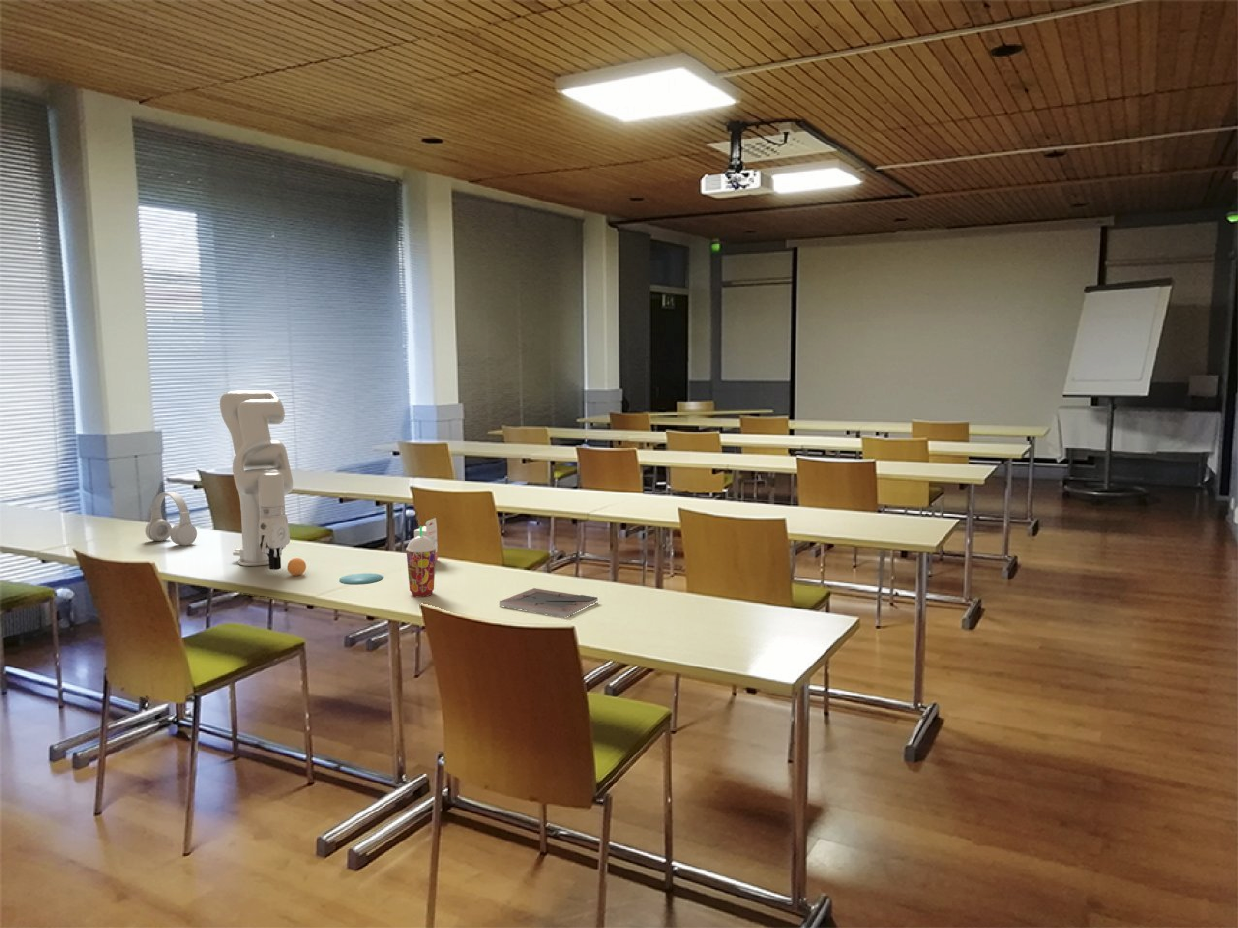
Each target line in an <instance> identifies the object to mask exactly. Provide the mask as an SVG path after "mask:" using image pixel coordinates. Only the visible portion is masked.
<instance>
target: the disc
mask: <svg viewBox="0 0 1238 928" xmlns="http://www.w3.org/2000/svg"><path fill="white" fill-rule="evenodd" d="M383 578H384V576H383V575H382V574H378V573H370V572H369V573H367V572H366V573H355V574H354V573H353V574H348V575H345V576H342V577H341V578H339V580H338V581H339V582H340V583H342V584H345V585H366V584H367V585H368V584H372V583H376V582H380V581H381V580H383Z"/></svg>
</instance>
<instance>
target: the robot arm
mask: <svg viewBox="0 0 1238 928" xmlns="http://www.w3.org/2000/svg"><path fill="white" fill-rule="evenodd" d="M219 407H220V413H221V418H222V419H223V421H224V423H225V424H224V425H226V427H227V428H228V431H229V433H230V434H231V438H232V443H233V445H232V446H233V449H234V455H235V456H234V458H233V460H232V461H233V462H232V471H233V478H234V485H235V488H236V490H237V492H238V497H239V498H238V499H239V504H240V505H239V508H240V519H241V520H240V521H241V523H240V524H241V542H242V543H241V546H242V548H236V549H234V550H233V553H232V555H233V556H238V557H239V559H237V564H238V565H240V566H245V567H246V566H247V567H248V566H249V567H251V566H252V567H258V566H266V565H268V570H273V571H275V570H277V571H278V570H281V569H282V561H281V560H282V558H281V557H282V552H283V549H285V548H286V547H287V546H288V545H289V544H290V542H291V535H290V525H289V520H288V515H287V514H286V502H285V501H286V499H285V496H286V495H289V494H290V493H292V491H293V488H294V480H293V474H292V469H291V465H290V460H289V457H288V456H289V455H288V453H287V452H288V451H287V448H286V446H285V444H284V443H283V442H282V441H280V440H278V439H277V440H276V439H272V437H271V432H270V430H269V428H270V427H269V425H281V424H282V423H283V422H284V420H285V416H286V413H285V408H284V404H283V403H282V401H281V399H280V397H278V396H277V395H276V393H274V392H273V391H271V390H232V391H228V392H226V393H223V394H222V395H221V397H220V400H219Z"/></svg>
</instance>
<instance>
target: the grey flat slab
mask: <svg viewBox="0 0 1238 928" xmlns="http://www.w3.org/2000/svg"><path fill="white" fill-rule="evenodd" d="M598 600H599V599H598V596H596V597H595V596H590V595H586V594H585V595H584V594H581V595H580V594H575V593H568V592H567V593H566V592H560V591H553V590H547V589H542V588H534V587H533V588H531V589H528V590H526V591H523V592H520V593H517V594H515V595H513V596H510V597H507V598H504V599H502V600H499V607H500V606H504V607H509V608H508V609H510V608H516V609H522V610H527V611H531V612H530V613H533V612H536V613H535V614H539V613H540V615H545V614H547V615H546V616H551V615H552V617H557V616H558V617H559V618H562V617H567V616H569V615H571V614H573V613H575V612H577V611H579V610H581V609H583V608H585V607H587V606H589V605H590V604H593V603H595V602H596V601H598ZM598 602H599V601H598ZM504 607H503V608H504ZM516 609H515V610H516ZM522 610H521V611H522ZM527 611H526V612H527ZM571 616H572V615H571ZM569 617H570V616H569ZM567 618H568V617H567Z"/></svg>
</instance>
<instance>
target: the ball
mask: <svg viewBox="0 0 1238 928" xmlns="http://www.w3.org/2000/svg"><path fill="white" fill-rule="evenodd" d="M306 564H307V563H306V562H305V560H303V559H302V558H300V557H296V558H292V559H291V560H290V561H289V562H288V563H287V571H288V573H290V575H292V576H293V577H294V576H295V577H296V576H301V575H303V574H304V573H305V571H306V568H307V565H306Z"/></svg>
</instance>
